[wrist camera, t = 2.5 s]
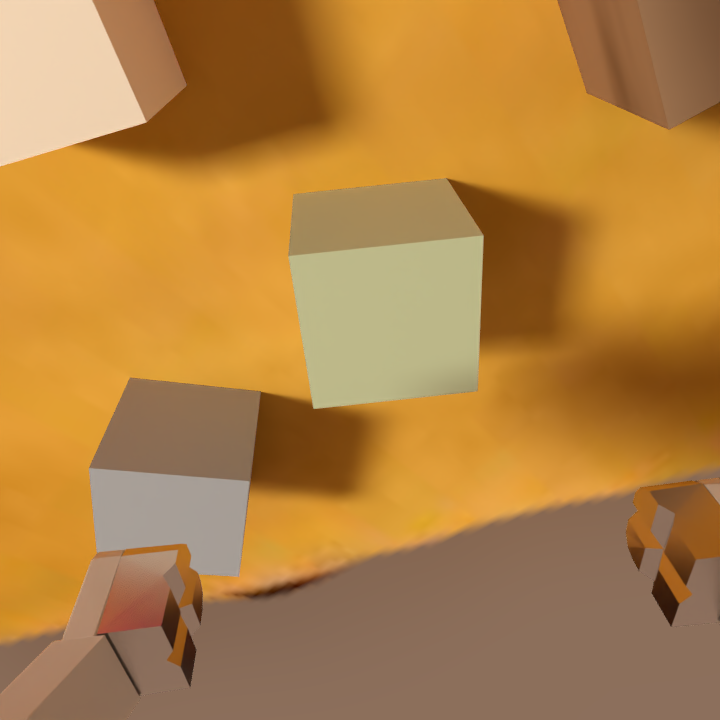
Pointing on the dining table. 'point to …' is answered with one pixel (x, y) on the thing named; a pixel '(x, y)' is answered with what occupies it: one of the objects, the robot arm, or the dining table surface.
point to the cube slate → (177, 472)
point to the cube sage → (387, 292)
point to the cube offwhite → (80, 71)
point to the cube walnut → (648, 54)
